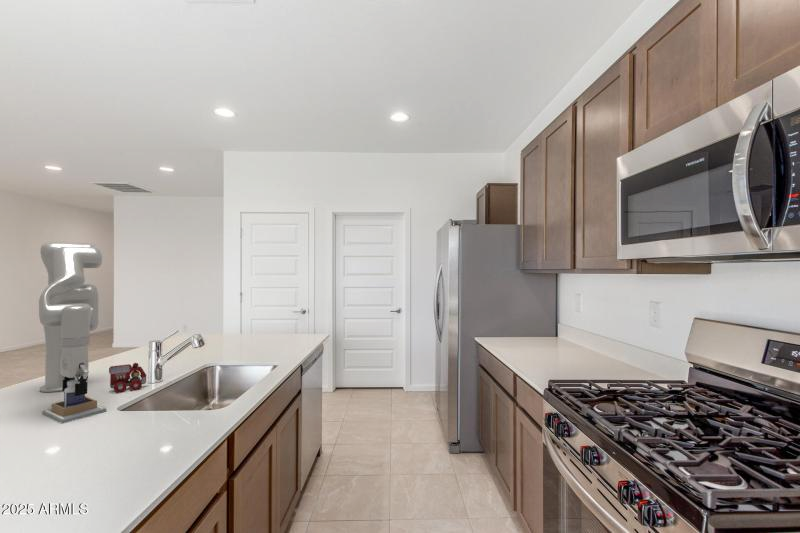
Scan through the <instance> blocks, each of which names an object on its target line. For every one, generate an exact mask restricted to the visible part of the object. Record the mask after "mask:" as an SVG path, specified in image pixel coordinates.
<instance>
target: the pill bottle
mask: <svg viewBox="0 0 800 533" xmlns="http://www.w3.org/2000/svg"><path fill="white" fill-rule="evenodd" d="M75 384H77V383H76V380H70V381H68V382H67V386H68V387H67V388H66V389H65V390H64V391H63V393H64V394H63V401H64V408H67V407H71V406H75V405H79V404H83V403H85V395H86V394H84V395H79V396H75Z"/></svg>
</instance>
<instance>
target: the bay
mask: <svg viewBox="0 0 800 533" xmlns="http://www.w3.org/2000/svg"><path fill="white" fill-rule="evenodd" d="M105 412H106V413H107V408H106V407H104V406H102V405H101V406H100V405H98V400H96V399H94V398H91V397H88V396H87V395H86V396H85V403H83V404H79V405H75V406H71V407H67V408H64V400H63V401H58V402H55V403H52V404H51V408H48V409H44V410H42V411H41V414H42V415H44V416H46V417H48V418H49V419H51V420H54V421H56V422H57V423H60V422H61V424H65V423H69V422H72V420H73V421H76V419H77V420H80V419H85V418H86V417H87V418H88V417H90V416H94V415H98V414H101V413H105ZM68 421H69V422H68ZM64 422H65V423H64Z"/></svg>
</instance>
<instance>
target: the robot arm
mask: <svg viewBox="0 0 800 533" xmlns="http://www.w3.org/2000/svg"><path fill="white" fill-rule="evenodd" d="M39 251H40V258H41V260H42V263H43V264H44V267H45V268H46V272H47V275H48V277H47V279H48V280H47V284H48V285H47V286H46V287H45V288H44V290H42V292H41V294H40V296H39V298H38V317H39V319H38V320H39V323H40V324H41V325H42V326H43V330H44V337H45V338H44V341H45V360H44V361H45V362H44V363H45V368H44V369H45V370H44V371H45V373H44V374H45V378H44V385H42V386H41V387H40V388H39V392H41V393H55V392H64V390H65V389H66V388H67V387H68V386H67V382H68V381H70V380H76V383H77V384H75V396H79V395H84V394H85V395H86V394H88V381H89V380H88V379H89V365H90V364H89V351H88V350H89V349H88V347H89V346H90V344H91V342H90V337H91V336H90V335H91V334H90V332H94V331H95V330H97V328H98V326H99V291H98V290H99V289H98V288H97V286H96V285H93V284H91V283H85V280H86V279H85V278H86V277H85V273H84V272H85V271H84V269H97V268H100V267H101V265H102V262H103V255H102V252H101V249H99V247H98V246H97V245H95V243H83V242H82V243H80V242H64V241H63V242H60V241H59V242H57V241H55V242H46V243H43V244H42V245H41V246H40V250H39Z"/></svg>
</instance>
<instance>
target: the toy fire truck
mask: <svg viewBox="0 0 800 533" xmlns="http://www.w3.org/2000/svg"><path fill="white" fill-rule="evenodd" d="M108 373H109V376H110V377H109V378H110V379H109V387H110V388H111V390H112V389H113V391H114V392H115V393H118V394H121V393H123V392H125V391H127V390H126V389H127V387H129V388H130V390H131V391H138V390H139V389H141V388H142V386H143V385H146V383H147V374H146V372H145V370H144V369H143V367H142V366H140V365H139V363H137V362H134V363H133V364H132V365H131V364H120V365H119V364H118V365H111V366H110V367H109V368H108Z"/></svg>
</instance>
